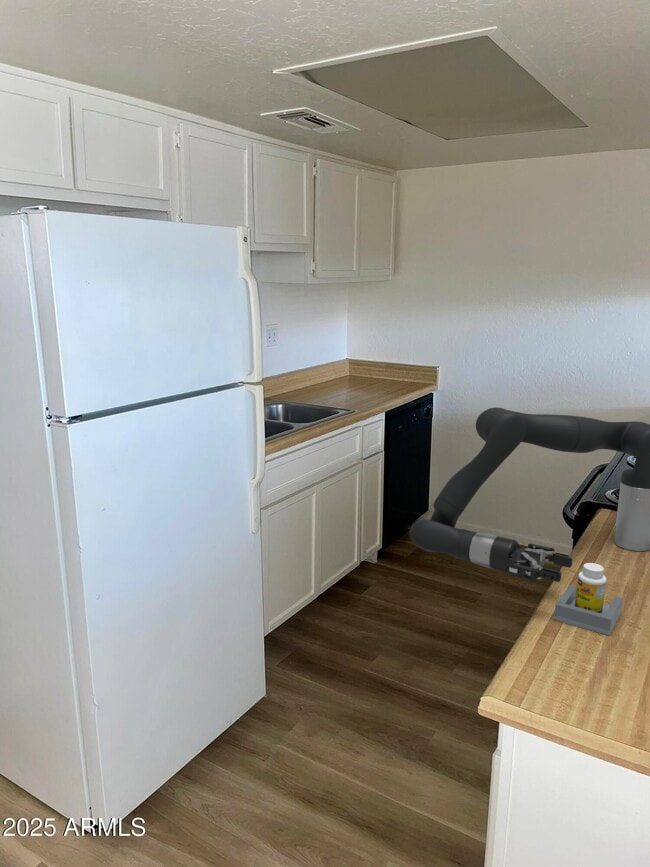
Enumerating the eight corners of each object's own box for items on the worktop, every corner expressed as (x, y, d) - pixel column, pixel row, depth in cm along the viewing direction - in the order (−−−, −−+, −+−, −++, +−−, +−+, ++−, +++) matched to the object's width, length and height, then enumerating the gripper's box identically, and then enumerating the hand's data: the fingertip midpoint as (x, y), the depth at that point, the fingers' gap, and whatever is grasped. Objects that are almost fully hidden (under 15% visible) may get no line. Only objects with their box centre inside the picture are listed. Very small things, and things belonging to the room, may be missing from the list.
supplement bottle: (568, 606, 142) (573, 562, 140) (589, 602, 144) (594, 559, 142) (586, 619, 137) (592, 574, 135) (608, 615, 139) (614, 570, 136)
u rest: (568, 598, 148) (569, 584, 147) (620, 613, 142) (622, 598, 141) (554, 619, 139) (555, 604, 138) (609, 635, 133) (611, 619, 132)
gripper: (483, 546, 144) (558, 565, 135) (505, 527, 155) (576, 542, 146) (481, 578, 146) (555, 598, 137) (503, 556, 157) (573, 573, 148)
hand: (566, 569), depth 141 cm, fingers open, 8 cm apart
